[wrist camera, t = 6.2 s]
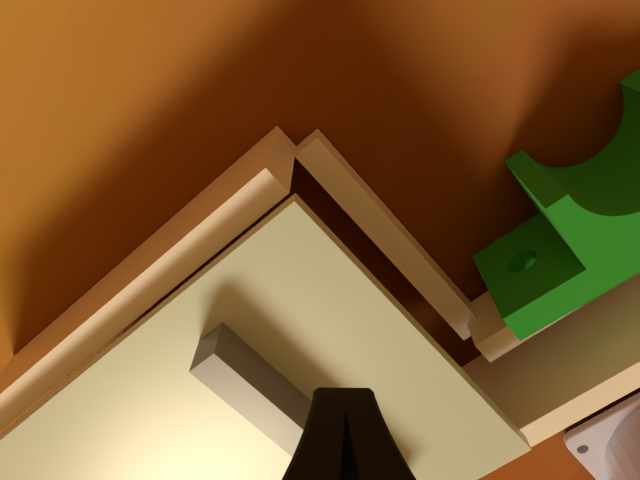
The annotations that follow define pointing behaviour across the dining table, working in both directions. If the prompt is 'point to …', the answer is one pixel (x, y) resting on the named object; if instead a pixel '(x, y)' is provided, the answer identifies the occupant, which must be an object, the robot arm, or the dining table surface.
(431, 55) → the dining table surface
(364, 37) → the dining table surface
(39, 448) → the door
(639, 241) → the pipe clamp
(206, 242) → the housing
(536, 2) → the dining table surface
